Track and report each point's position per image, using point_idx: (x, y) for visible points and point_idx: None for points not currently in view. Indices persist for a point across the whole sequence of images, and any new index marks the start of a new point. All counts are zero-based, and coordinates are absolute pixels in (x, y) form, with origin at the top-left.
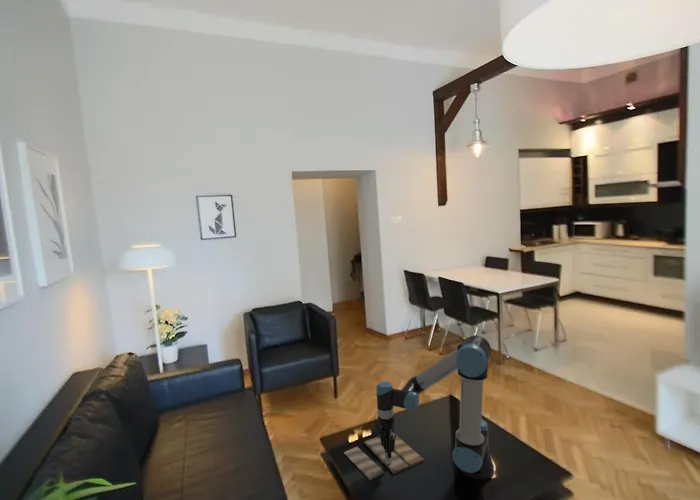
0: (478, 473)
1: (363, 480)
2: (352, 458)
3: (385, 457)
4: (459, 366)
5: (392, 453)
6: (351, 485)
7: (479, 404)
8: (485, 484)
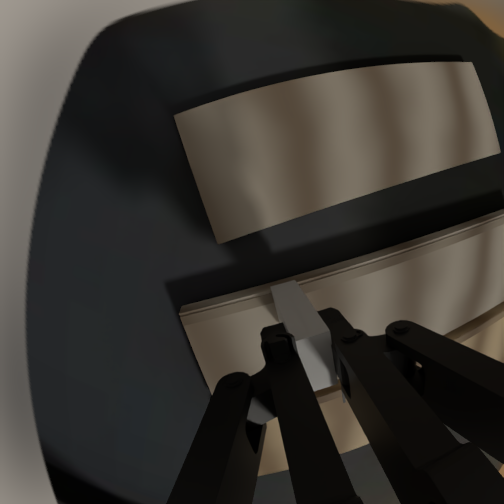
0: None
1: (194, 75)
2: (422, 75)
3: (296, 301)
4: None
5: None
6: (178, 5)
7: None
8: None
